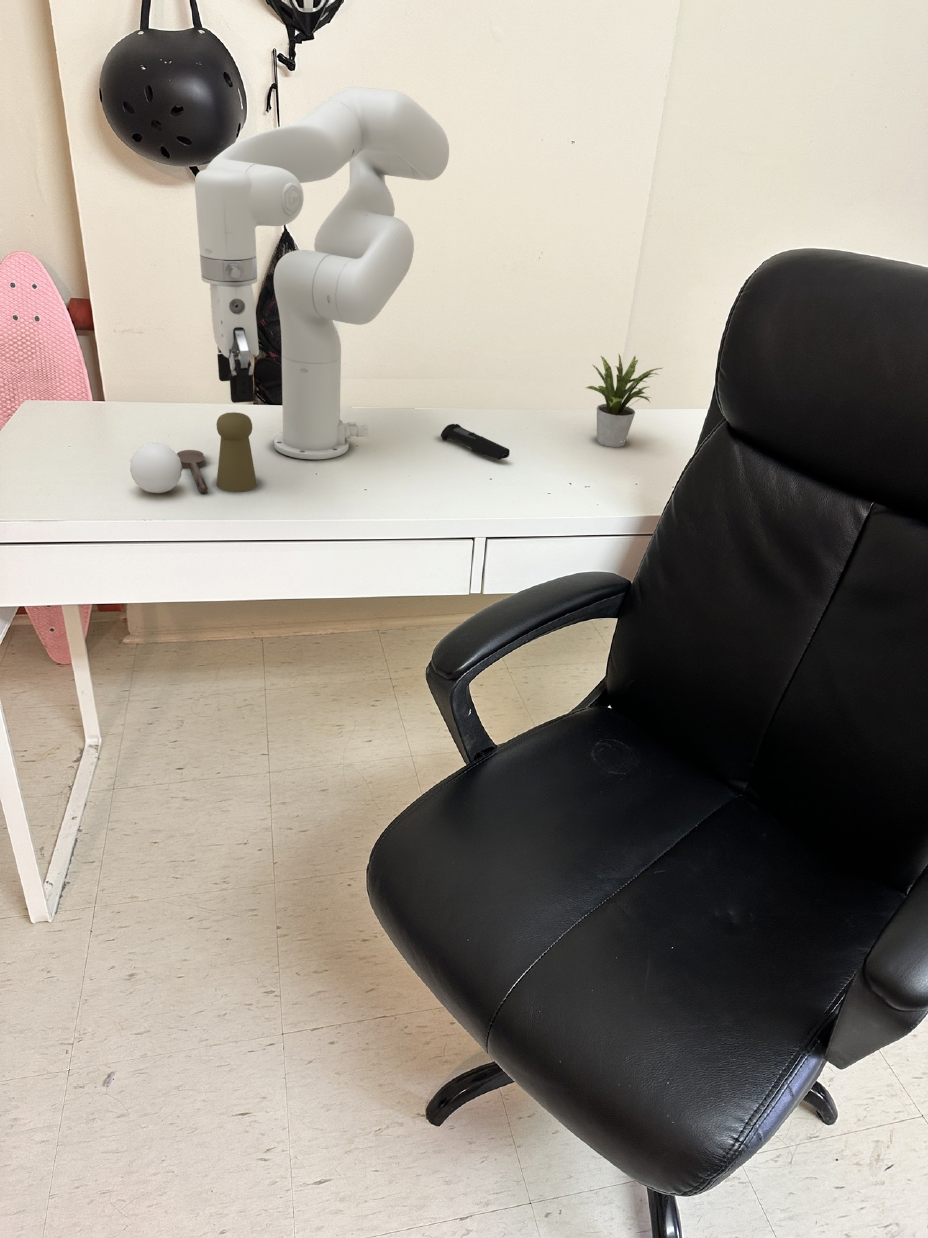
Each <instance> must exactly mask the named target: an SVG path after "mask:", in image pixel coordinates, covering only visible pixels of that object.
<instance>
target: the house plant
mask: <svg viewBox="0 0 928 1238" xmlns="http://www.w3.org/2000/svg"><path fill="white" fill-rule="evenodd" d="M600 358H601V361H602V364H603V365H602V366H603V369H604V372H603V373H602V372H601V370H600V369H599V368H598V367H597V366H596V365H594V364H591V365H592V367H593V368H594V369H595V370H596V372H597V374H598V375H599V376H600V378H601V380H602V381H603V384H604V385H598V386H594V385H588V386H586V387H585V389H588V390H591V391H596V392H597V393H599V394H601V395H602V396H603V397H604V400H605V403H602V404H601V403H600V404H599V405H597V407H596V442H597V443H598V444H599V445H602V446H605V447H609V448H621V447H624V445H625V444H626V442H627V441H626V440H627V438H628V435H629V432H630V429H631V427H632V423H633V421H634V418H635V414H636V411H635V409H634V408H632V407H630V406H632V405H633V404H635V403H636V402H638V401H639V399H644V400H646V401H648V402H649V404H650V405H652V404H651V401H650V399H652V397H651V396H646V395H644V394H646V392H644V390H645V389H647V388H649V386H642V387H640V388H639V387H637V386H639V384H640V383H642V382H643V383H648V382H647V381H645V380H644V379H647V378H653V377H654V375H658V376H660V374H659V373H657V372H655V371H657V370H662V369H663V367H658V368H657V367H656V368H653V369H649V370H647V371H645V372H643V373H642V374H640V375H639V376H637V377H635V378H632V377H633V375H634V374H635V373H636V366H637V364H638V362H639V358H638V359H637V358H636V355H634V356H633V358H632V360H631V361H630V364H629V366H627V368H626V370H625V372H624V368H623V363H622V356H621V355H620V354H618V366H616V365H614V367H615V368H616V370H617V374H616V386H615V383H614V374H613V370H612V367H611V365H610V364H609V362H608V361H607V359H606V358H605V357H604V356H602V355H600ZM630 383H631V384H630ZM629 384H630V385H629ZM628 385H629V386H628ZM636 389H637V390H636ZM634 390H635V391H634ZM635 398H639V399H637V400H636V401H634V402H633V403H631V404H630V405H628V404H629V403H630V402H631V401H632V400H633V399H635ZM627 405H628V406H627ZM624 440H625V441H624ZM620 441H623V442H620Z"/></svg>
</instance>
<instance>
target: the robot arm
mask: <svg viewBox="0 0 928 1238" xmlns="http://www.w3.org/2000/svg"><path fill="white" fill-rule="evenodd" d="M449 158H450V144H449V140H448V137H447V134H446V132H445V129H444V128H443V126H442V125H440V123H439V122H437V120H436V119H435V118H434V117H433V116H432V115H430V114H429V113H428V112H427V111H426V110H425V109H424V108H423V107H422V105H420V104H419V103H418V102H417V101H415V100H414V99H413V98H412V97H410V96H409V95H407V94H405V93H403V92H400V91H397V90H391V89H381V88H374V87H373V88H372V87H364V86H347V87H344V88H341V89H338V90H337V91H336V92H334V93H333V94H331V96H329V97H328V98H326V100H324V101H322V103H320V104H319V105H317V106H316V107H315V108H313V109H312V110H310V111H309V113H307V114H305V116H303V117H302V118H301V119H299V120H297V121H295V122H292V123H288V124H284V125H280V126H278V127H275V128H271V129H269V130H265V131H263V132H258V133H255V134H252V135H249V136H246V137H244V138H242V139H240V140H237V141H236V142H234V143H232V144H230V146H228V147H227V148H225V149H224V150H223V151H221V152H219V154H218V155H216V156H215V157H214V158H213V159H212V160H211V161H210V162H209V163H208V165H207V167H206V168H205V169H202V170H200V171H198V172H197V174H196V176H195V178H194V196H195V207H196V208H195V209H196V220H197V234H198V247H199V262H200V273H201V274H200V277H201V281H202V282H204V283H206V284H209V293H210V308H211V309H210V310H211V322H212V331H213V339H214V341H215V343H216V345H217V352H218V353H217V354H216V355H217V356H216V357H217V368H218V370H217V371H218V372H217V373H218V379H219V381H220V382H229V391H230V401H231V402H232V403H234V404H237V403H238V404H239V403H252V402H254V401H255V387H254V373H253V366H252V361H251V356H253V358H257V357H258V356H259V355H260V351H259V349H260V348H259V347H260V346H259V337H258V325H257V314H256V303H255V295H254V289H253V284H256V283H257V282H258V265H257V264H258V261H257V259H258V258H257V237H256V236H257V235H256V228H257V227H258V226H262V227H283V226H286V225H288V224H290V223H292V222H293V221H295V219H297V217H298V216H299V215H300V214H301V211H302V209H303V206H304V197H305V195H304V189H303V187H302V184H306V183H312V182H318V181H321V180H326V179H329V178H331V177H333V176H334V175H335V174H337V173H338V172H339V171H340V170H341V169H342V168H343V167H344V166H346V165H347V164H348V163H349V184H348V185H349V186H348V189H347V191H346V192H345V193H344V196H343V197H342V198H341V199H340V201H338V203H337V204H336V206H335V207H334V208H333V209H332V210H331V211H330V213H329V214H328V216H327V217H326V218H325V219H324V220H323V222H322V224H321V225H320V226H319V228H318V230H317V232H316V234H315V237H314V245H313V247H314V250H309V249H308V250H307V249H297V250H292V251H289V252H287V253H285V254H284V255H282V257H281V258H279V260H278V261H277V263H276V265H275V268H274V272H273V289H274V295H275V300H276V305H277V309H278V315H279V322H280V336H281V393H282V394H281V397H282V398H281V399H282V400H281V402H282V403H281V405H282V432H280V433H278V434H277V435H275V437H274V438H273V447H274V449H275V450H276V451H277V452H279V453H280V454H282V455H285V456H287V457H290V458H296V459H301V460H326V459H327V460H328V459H333V458H337V457H339V456H342V455H344V454H345V453H347V452H348V450H349V446H350V441H349V439H350V438H351V437H356V438H360V437H367V436H368V434H369V430H368V425H367V424H359V425H357V423H356V422H355V421H350V422H343V421H342V420H341V379H342V377H341V375H342V374H341V372H342V369H341V368H342V344H341V339H340V335H339V332H338V330H337V327H336V325H335V323H334V322H340V323H345V324H350V325H357V326H362V325H366V324H369V323H371V322H372V321H374V320H375V318H377V316H378V315H379V314H380V312H382V310H383V309H384V307H385V306H386V304H387V303H388V301H389V300H390V299H391V297H392V296H393V295H394V293H395V292H396V290H397V289H398V287H399V286H400V285H401V283H402V282H403V280H404V279H405V277H406V275H407V274H408V272H409V270H410V268H411V265H412V263H413V262H412V261H413V258H414V251H415V241H414V237H413V236H414V235H413V232H412V230H411V228H410V226H409V225H408V224H407V223H406V222H405V221H404V220H402V219H400V218H398V217H395V211H396V209H395V202H394V199H393V196H392V193H391V191H390V189H389V187H388V186H387V184H386V176H388V177H389V176H390V177H395V178H396V177H397V178H402V179H403V178H404V179H410V180H417V181H433V180H436V179H438V178H439V177H440V176H441V175H442V174H443V173H444V172H445V170H446V168H447V166H448V163H449Z"/></svg>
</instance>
